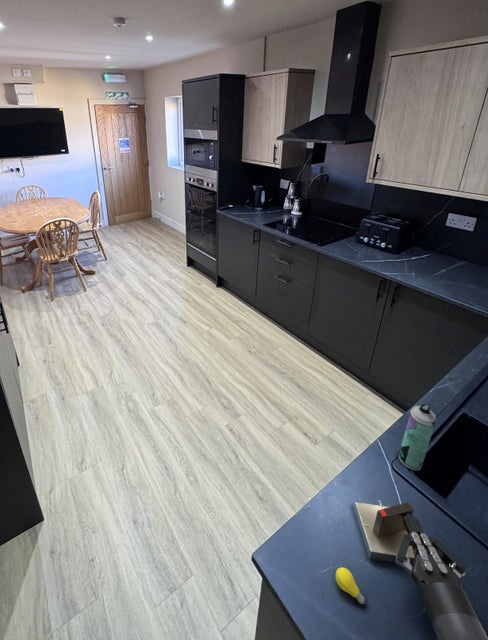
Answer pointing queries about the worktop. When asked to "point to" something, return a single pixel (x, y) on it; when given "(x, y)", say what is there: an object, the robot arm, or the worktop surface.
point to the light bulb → (348, 584)
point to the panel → (382, 545)
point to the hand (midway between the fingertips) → (408, 515)
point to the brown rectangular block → (391, 519)
